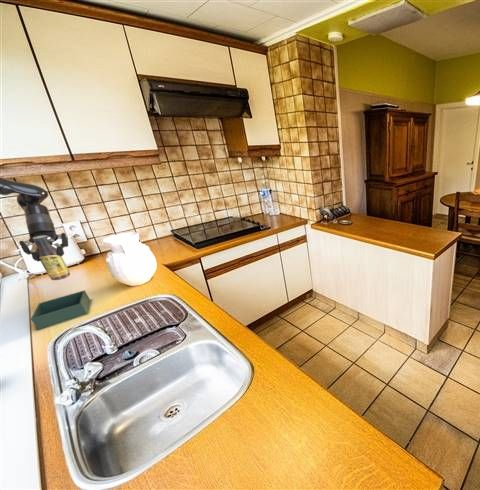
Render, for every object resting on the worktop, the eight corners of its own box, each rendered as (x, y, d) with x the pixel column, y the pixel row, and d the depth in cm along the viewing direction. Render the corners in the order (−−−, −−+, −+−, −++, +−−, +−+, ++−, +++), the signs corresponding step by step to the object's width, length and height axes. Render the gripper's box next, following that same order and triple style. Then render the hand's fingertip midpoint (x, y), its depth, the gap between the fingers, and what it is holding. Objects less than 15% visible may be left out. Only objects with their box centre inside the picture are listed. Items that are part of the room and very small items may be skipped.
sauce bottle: (48, 282, 116) (21, 241, 108) (56, 276, 121) (30, 236, 113) (68, 278, 118) (44, 237, 110) (75, 272, 123) (51, 233, 115)
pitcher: (165, 279, 138) (147, 235, 128) (120, 295, 126) (95, 247, 116) (157, 268, 150) (140, 227, 140) (115, 282, 138) (93, 238, 128)
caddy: (38, 329, 105) (30, 319, 103) (45, 313, 115) (38, 303, 113) (87, 313, 113) (81, 303, 111) (90, 300, 123) (84, 290, 121)
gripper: (10, 225, 111) (18, 260, 107) (59, 217, 119) (69, 249, 115) (21, 234, 117) (29, 267, 113) (67, 226, 125) (76, 256, 121)
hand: (49, 257), depth 114 cm, fingers closed on sauce bottle, 6 cm apart
